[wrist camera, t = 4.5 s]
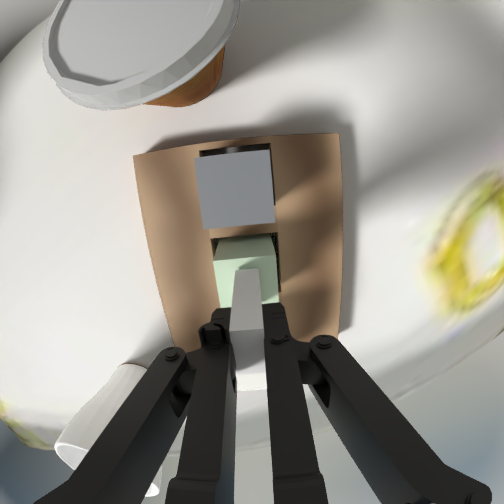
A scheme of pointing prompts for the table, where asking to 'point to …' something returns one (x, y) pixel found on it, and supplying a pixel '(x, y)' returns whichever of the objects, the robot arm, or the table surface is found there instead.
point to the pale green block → (246, 265)
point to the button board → (248, 233)
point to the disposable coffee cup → (137, 50)
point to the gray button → (235, 189)
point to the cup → (100, 419)
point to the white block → (251, 381)
